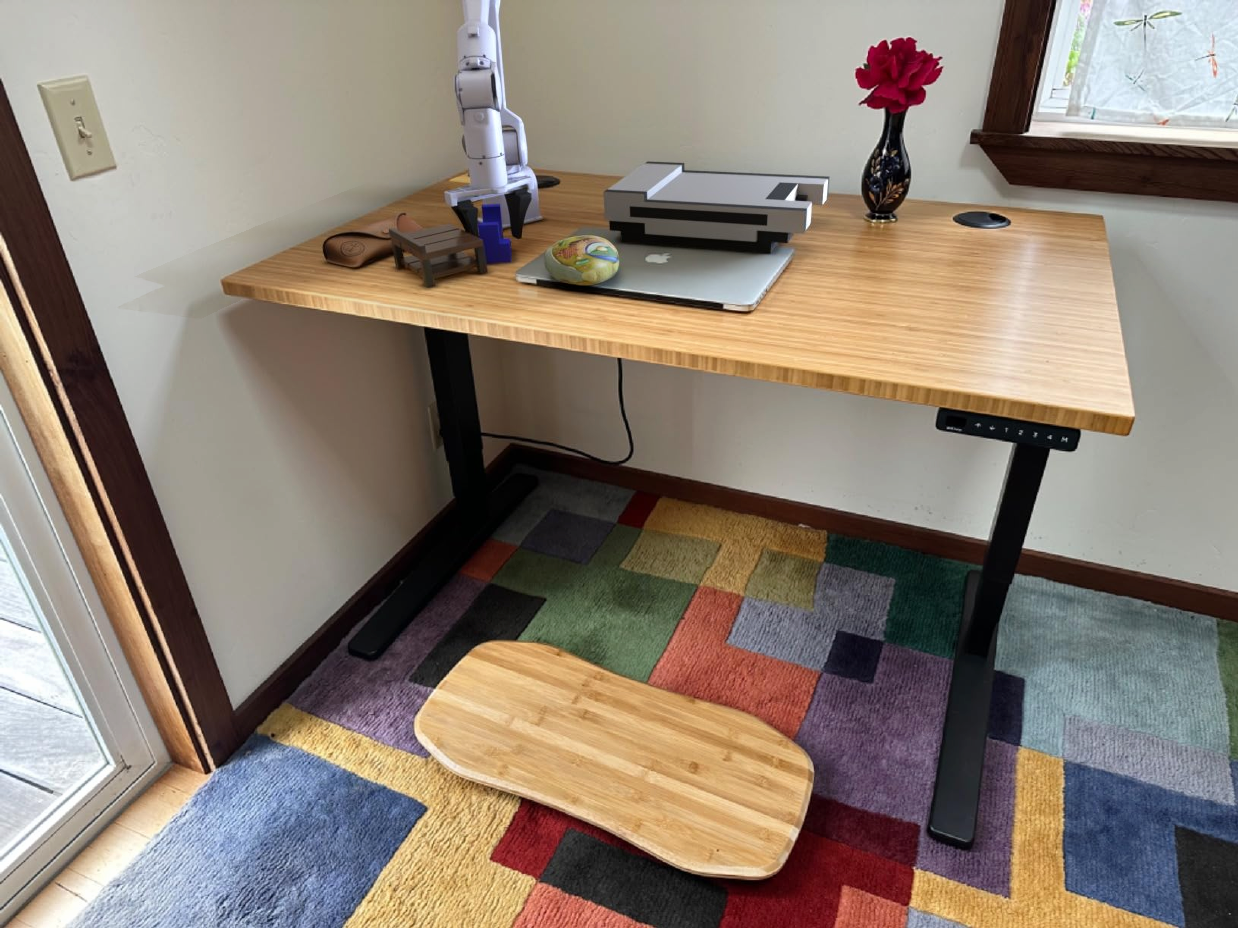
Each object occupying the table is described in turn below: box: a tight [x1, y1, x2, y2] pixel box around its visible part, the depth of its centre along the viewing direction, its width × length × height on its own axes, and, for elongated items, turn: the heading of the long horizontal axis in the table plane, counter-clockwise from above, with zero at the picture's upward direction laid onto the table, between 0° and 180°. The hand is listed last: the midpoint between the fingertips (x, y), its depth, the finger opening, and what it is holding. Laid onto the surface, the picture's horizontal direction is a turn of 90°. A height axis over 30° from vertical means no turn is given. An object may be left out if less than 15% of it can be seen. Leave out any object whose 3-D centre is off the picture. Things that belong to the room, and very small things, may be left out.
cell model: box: [543, 235, 620, 286], centre depth 126 cm, size 11×8×15 cm
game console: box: [602, 160, 831, 254], centre depth 142 cm, size 21×32×8 cm, turn 69°
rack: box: [389, 223, 488, 288], centre depth 132 cm, size 10×12×6 cm
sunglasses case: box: [322, 212, 425, 268], centre depth 143 cm, size 18×7×7 cm
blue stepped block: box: [478, 204, 513, 265], centre depth 139 cm, size 12×4×6 cm, turn 5°
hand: (496, 242), depth 139 cm, fingers open, 7 cm apart
